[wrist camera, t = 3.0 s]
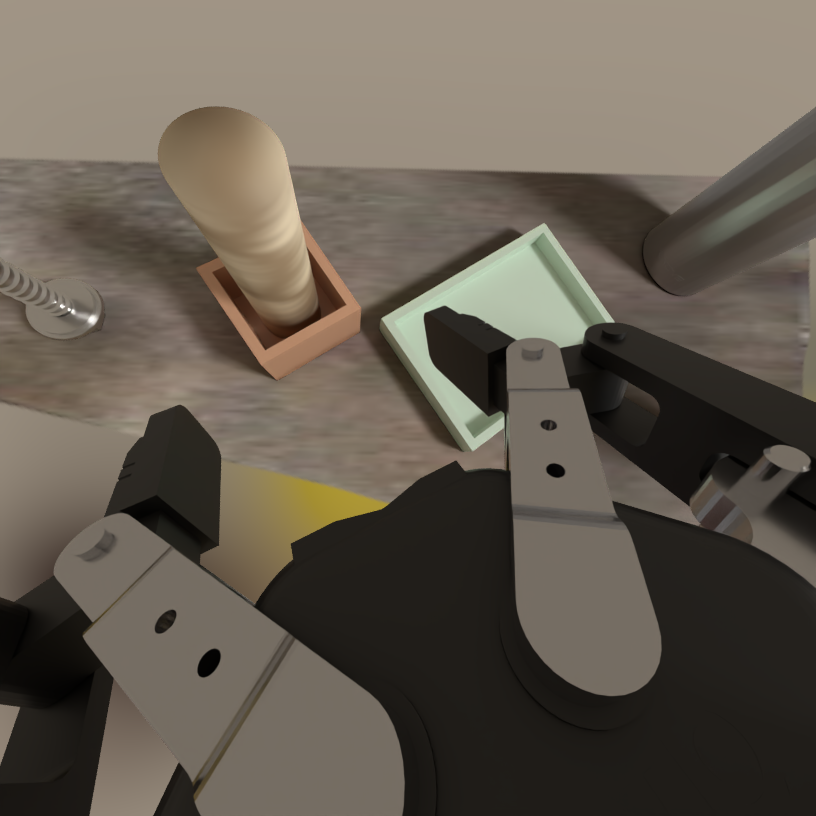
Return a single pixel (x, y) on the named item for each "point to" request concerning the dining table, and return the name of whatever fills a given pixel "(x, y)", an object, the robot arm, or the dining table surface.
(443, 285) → the pale green tray
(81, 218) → the dining table surface
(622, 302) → the dining table surface
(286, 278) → the birch pin
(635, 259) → the dining table surface
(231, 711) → the robot arm
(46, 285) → the screw
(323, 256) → the terracotta holder
